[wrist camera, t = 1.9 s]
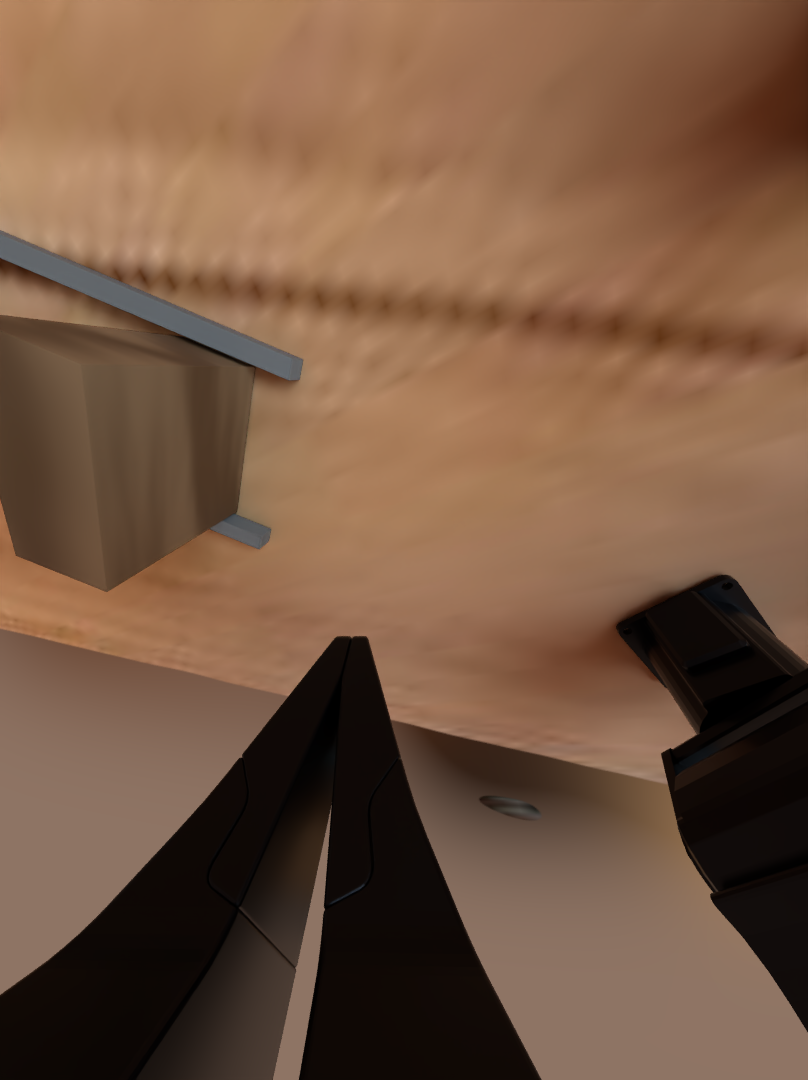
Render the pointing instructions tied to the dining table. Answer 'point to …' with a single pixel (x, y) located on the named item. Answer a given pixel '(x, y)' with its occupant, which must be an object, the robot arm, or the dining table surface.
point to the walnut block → (115, 444)
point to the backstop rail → (167, 318)
